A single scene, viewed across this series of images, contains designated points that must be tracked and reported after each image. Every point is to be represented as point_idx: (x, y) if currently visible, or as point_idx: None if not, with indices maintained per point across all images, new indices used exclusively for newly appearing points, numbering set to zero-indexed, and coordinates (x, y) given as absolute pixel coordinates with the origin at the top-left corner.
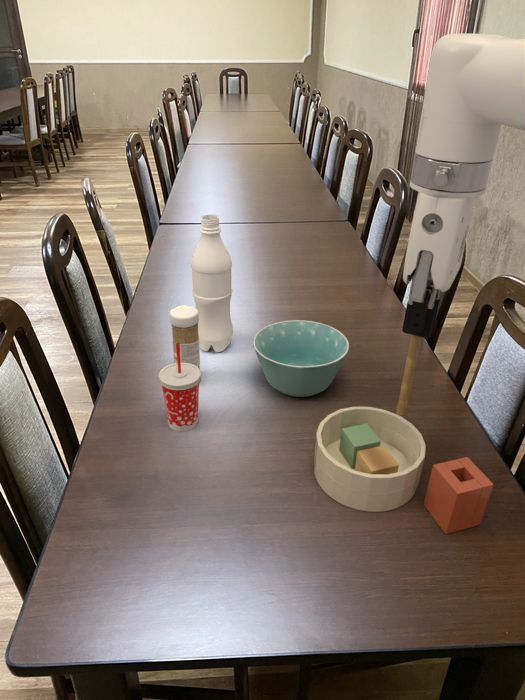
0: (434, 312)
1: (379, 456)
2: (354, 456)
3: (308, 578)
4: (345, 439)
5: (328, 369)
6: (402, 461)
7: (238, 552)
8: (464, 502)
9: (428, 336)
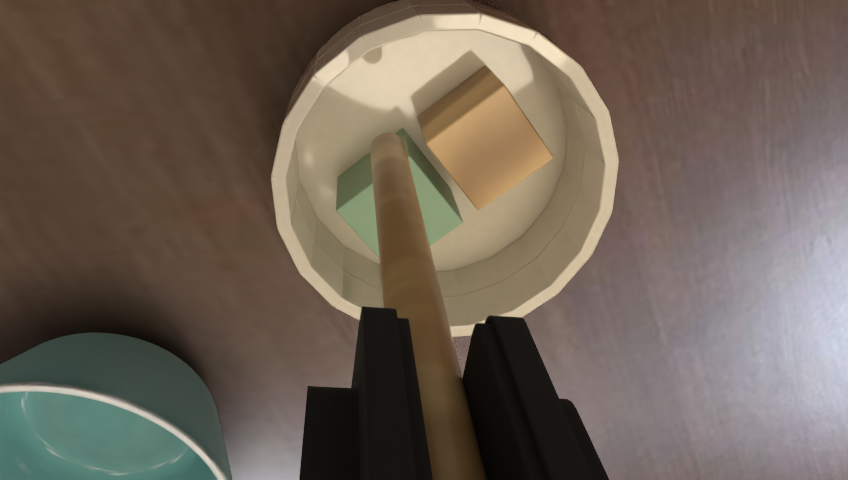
0: (591, 477)
1: (483, 148)
2: (454, 203)
3: (773, 194)
4: None
5: (153, 397)
6: (368, 56)
7: (728, 326)
8: None
9: (520, 322)
